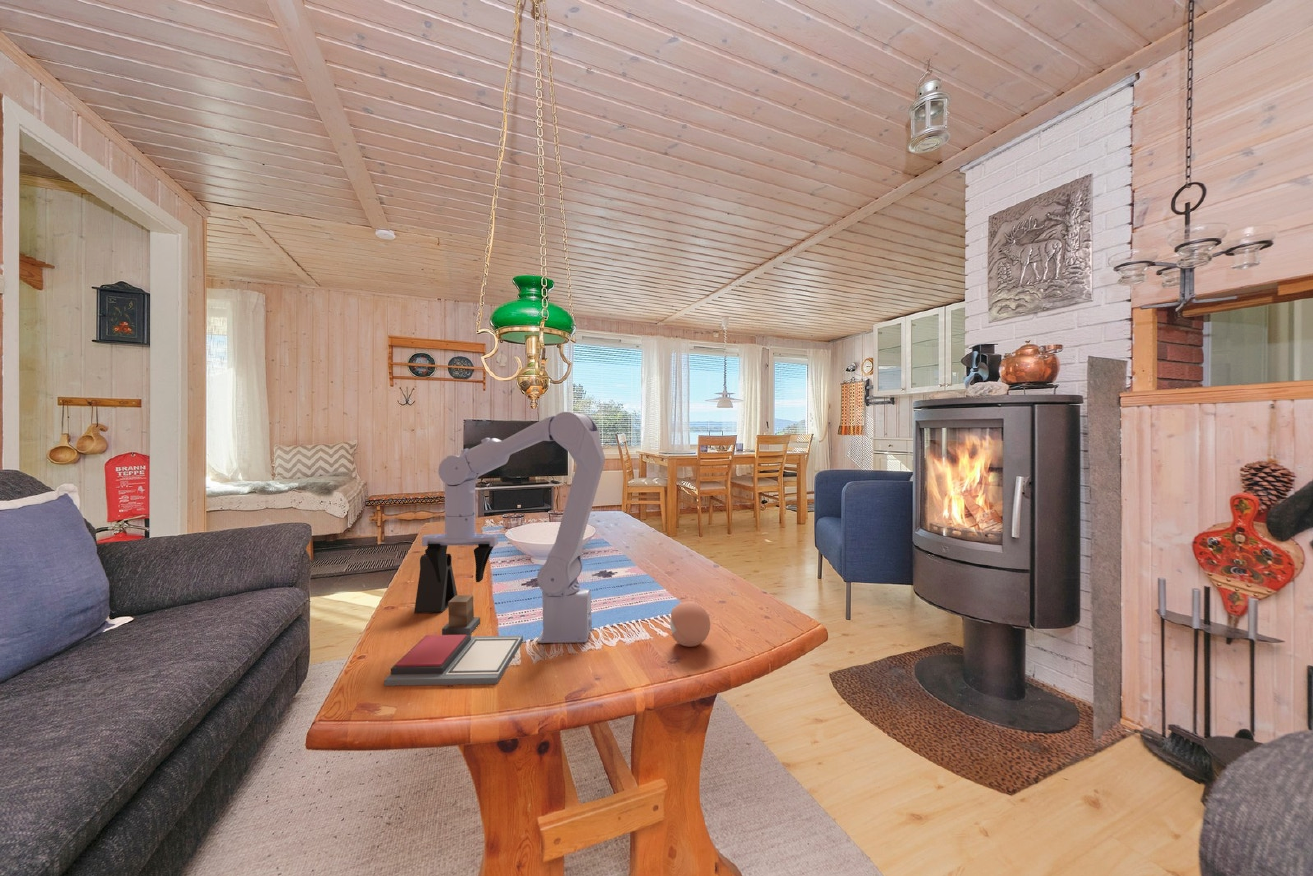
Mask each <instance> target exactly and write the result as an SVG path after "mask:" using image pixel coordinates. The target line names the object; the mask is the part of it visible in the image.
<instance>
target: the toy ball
mask: <svg viewBox="0 0 1313 876" xmlns="http://www.w3.org/2000/svg"><path fill="white" fill-rule="evenodd" d="M669 621H670V622H669V626H670V627H669V628H670V631H671V633H672V634H671V635H670V636H671V637H672V638H673V640H674V641H675V642H676V643H678V645H681V646H683V647H689V648H690V647H697V646H698V645H700V644H702V643H703V642H705V641H706V639H707V638H708V636H709V634H710V630H711V620H710V616H709V613H708V612H707V611H706V609H705V608H704V607H703V606H702V605H701V604H699V603H697V602H695V601H691V600H689V601H682V602H680V603H678V604H676V605H675V606H674V607H673V608H672V609H671V612H670V620H669Z"/></svg>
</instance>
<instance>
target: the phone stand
mask: <svg viewBox="0 0 1313 876" xmlns="http://www.w3.org/2000/svg"><path fill="white" fill-rule="evenodd" d="M452 559H453V558H452V554H451V553H446V563H445V564H446V577H445V579H444V580H443V581H442V582H438V581H437V577H436V573H435V570H434V568H433V565H432V563H431V561H430V560H429V558H428V556H427V555H426V554H425V553H424V554H422V555H421V556H420V559H419V574H418V583H417V588H416V596H415V604H414V611H413V613H414V614H439V613H440V614H441V613H443V612H444V611H445V610H447V609H448V602H449V601H450V600H451V599H452V598H453V597H455V596H456V595H458V592H457V586H456V580H455V576H454V570H453V566H452Z"/></svg>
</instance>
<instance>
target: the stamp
mask: <svg viewBox="0 0 1313 876" xmlns="http://www.w3.org/2000/svg"><path fill="white" fill-rule="evenodd" d="M447 609H448V622H447V623H446V624H445V625H444V626H443V627H442V628H441V635H470V634H471V633H472V632H474V631H475V630H477V628H478V627H479V626H480V624H481V616H474V595H473V594H471V595H469V594H467V595H466V594H464V595H463V594H462V595H461V594H460V595H459V594H457V595H456V596H455V597H453V598H452V599H451V600H450V601H449V602H448V608H447ZM478 625H479V626H478ZM476 627H477V628H476ZM472 634H473V633H472ZM472 634H471V635H472Z"/></svg>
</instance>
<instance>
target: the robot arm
mask: <svg viewBox="0 0 1313 876" xmlns="http://www.w3.org/2000/svg"><path fill="white" fill-rule="evenodd" d="M597 425H598V424H596V423H595V421H594V420H593V418H592V417H591V416H589V415H588V414H586V413H584V412H576V413H575V412H572V411H562V412H559V413H558V414H556V415H551V416H548V417H546V418H543V419H541V420H539V421H537V422H535V423H533V424H531V425H529V426H528V427H525V428H524V429H521V430H520V431H518V432H516V433H515V434H512V435H511V436H509V437H507V438H504V439H503V440H501V439H500V438H496V437H493V438H491V437H485V438H483V439H481V443H479V444H477V445H476V446H473V447H471V448H463V449H462V450H461V453H460V454H459V455H455V454H454V455H452V454H451V455H447V456H446V457H445V458H444V459H443V460H441V461H440V464H439V466H438V475H439V479H441V481H442V482H443V483H444V533H437V534H436V533H435V534H425V535H423V536H422V537H421V543H422V544H421V547H426V549H425V550H424V554H426V555H427V556H428V558H429V560H430V561H431V563H432V565H433V568H434V570H435V573H436V577H437V581H438V582H442V581H443V580H444V579H445V577H446V564H445V563H446V554H447V552H448V546H477V547H475V548H474V549H473V555H474V562H475V582H476V583H481V581H483V579H484V574H485V569H486V566H487V563H488V560H489V558H490V555H491V553H492V551H493V549H494V547H496V546H497V545H498V543H499V540H498V539H499V538H498V537H499V535H498V534H490V533H489V534H487V533H477V532H476V485H477V484H476V482H477V480H478V479H479V477H481V476H483V475H485V474H487V473H489V472H492V471H493V470H495V469H498V468H499V467H503V466H504V465H506V464H507V463H508V461H509V459H510V456H512V454H515V453H517V452H519V451H521V450H525V449H527V448H529V447H531V446H534V445H536V444H538V443H541V442H543V441H546V442H553V441H555V442H556V443H557V445H560V447H562V448H564V450H566V451H567V452H568V453H569V455H570V456H571V458H572V460H573V461H574V462H575V464H576V468H575V470H574V473H573V474H574V475H573V477H572V482H571V485H570V488H569V492H568V496H567V499H566V503H565V507H564V509H563V514H562V518H561V519H560V520H561V521H560V523H559V527H558V531H557V536H556V538H555V541H554V544H553V546H552V547H551V549H550V551H549V552H548V555H547V558H546V561H545V563H544V564H543V565H542V566H541V567H540V568H539V570H538V572H537V577H536V582H537V584H538V585H537V586H538V587H539V588H540V590H541V591H542V595H541V596H542V631H540V635H538V638H537V640H536V641H537V643H538V644H551V643H552V644H554V643H555V644H556V643H557V644H559V643H560V644H561V643H562V644H564V643H567V644H571V643H587V642H588V639H589V636H590V633H591V630H592V625H593V623H592V622H593V621H592V593H591V589H588V588H587V589H586V588H582V587H580V583H579V580H578V577H579V576H580V575H581V573H582V570H583V561H582V555H583V554H582V553H583V545H582V543H583V540H584V537H585V533H586V529H587V525H588V523H589V519H590V515H591V511H592V507H593V505H594V502H595V498H596V495H597V490H598V487H599V484H600V480H601V475H602V473H603V470H604V466H605V461H606V457H605V454H604V450H603V446H602V442H601V438H600V429H599V427H598V426H597Z"/></svg>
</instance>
